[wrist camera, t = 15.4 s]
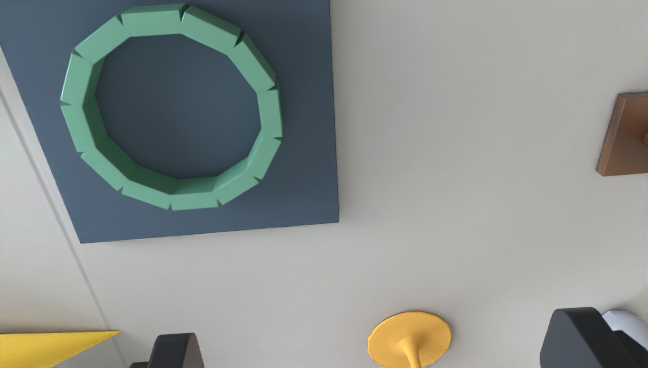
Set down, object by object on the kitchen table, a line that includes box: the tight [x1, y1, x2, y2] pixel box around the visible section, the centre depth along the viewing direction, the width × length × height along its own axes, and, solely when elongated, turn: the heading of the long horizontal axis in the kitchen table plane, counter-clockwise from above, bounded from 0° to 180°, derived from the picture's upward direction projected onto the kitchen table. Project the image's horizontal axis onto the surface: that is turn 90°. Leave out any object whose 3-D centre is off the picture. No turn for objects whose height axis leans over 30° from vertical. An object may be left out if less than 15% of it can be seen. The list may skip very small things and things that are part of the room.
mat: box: [0, 0, 339, 244], centre depth 35 cm, size 22×22×1 cm
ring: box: [60, 3, 283, 210], centre depth 33 cm, size 14×14×2 cm
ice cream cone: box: [0, 331, 123, 368], centre depth 44 cm, size 6×6×20 cm
